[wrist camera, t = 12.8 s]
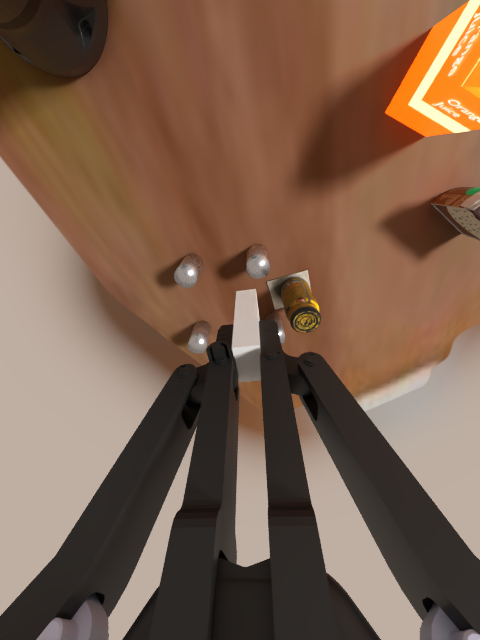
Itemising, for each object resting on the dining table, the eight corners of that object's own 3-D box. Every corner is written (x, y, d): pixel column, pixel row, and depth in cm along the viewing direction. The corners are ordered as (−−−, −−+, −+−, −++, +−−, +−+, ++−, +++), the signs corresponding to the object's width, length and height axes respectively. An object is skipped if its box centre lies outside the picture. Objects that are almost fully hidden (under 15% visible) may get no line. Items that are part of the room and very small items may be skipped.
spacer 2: (192, 321, 55) (185, 340, 50) (208, 319, 55) (203, 338, 49) (196, 334, 58) (190, 354, 52) (212, 333, 57) (208, 352, 51)
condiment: (312, 299, 51) (328, 332, 41) (274, 309, 53) (281, 343, 43) (307, 269, 47) (323, 298, 38) (266, 281, 49) (271, 311, 39)
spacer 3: (245, 245, 45) (245, 258, 39) (266, 242, 45) (268, 254, 39) (248, 265, 47) (248, 280, 41) (267, 262, 47) (270, 277, 41)
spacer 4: (263, 313, 54) (265, 332, 48) (280, 311, 53) (284, 330, 47) (264, 327, 56) (267, 346, 50) (281, 325, 55) (285, 345, 50)
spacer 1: (180, 255, 46) (171, 268, 41) (200, 252, 46) (193, 265, 40) (186, 273, 49) (177, 288, 43) (204, 271, 48) (199, 286, 42)
